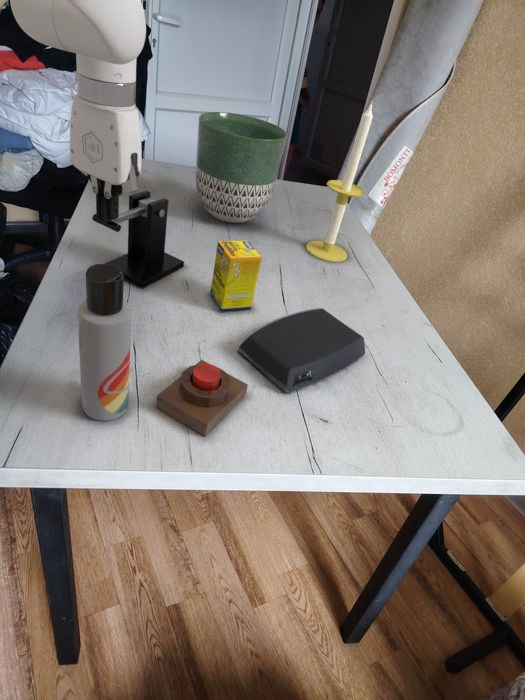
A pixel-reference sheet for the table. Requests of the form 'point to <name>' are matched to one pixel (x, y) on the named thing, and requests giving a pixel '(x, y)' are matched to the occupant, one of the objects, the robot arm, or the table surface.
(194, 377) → the button
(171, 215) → the table surface
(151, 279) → the lever bracket
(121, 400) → the lotion bottle
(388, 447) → the table surface
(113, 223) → the lever handle
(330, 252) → the candle
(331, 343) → the hard drive
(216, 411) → the button block
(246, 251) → the supplement box
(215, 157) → the planter
